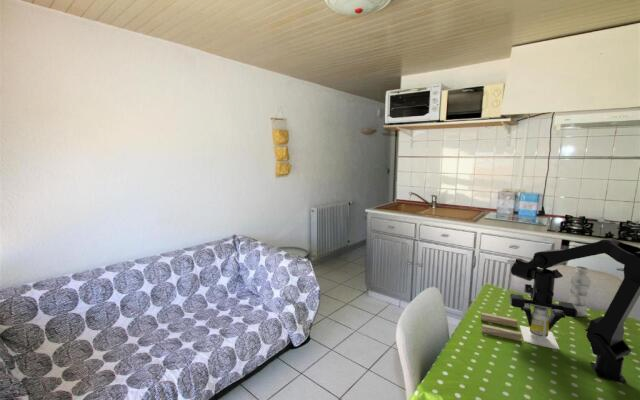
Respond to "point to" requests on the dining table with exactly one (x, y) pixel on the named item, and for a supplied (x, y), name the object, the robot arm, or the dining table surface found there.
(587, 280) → the plastic bottle
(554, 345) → the white square plate
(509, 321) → the wooden lane
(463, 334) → the dining table surface
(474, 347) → the dining table surface
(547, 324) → the supplement bottle
